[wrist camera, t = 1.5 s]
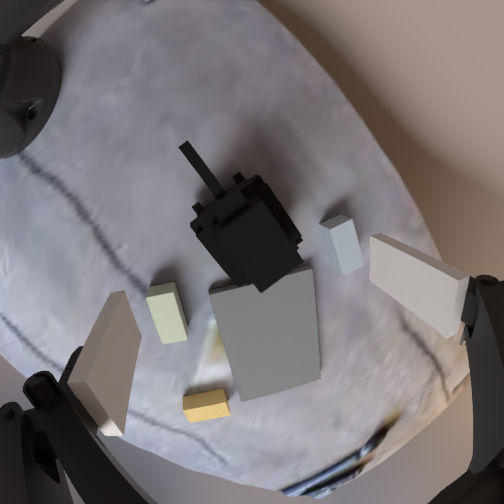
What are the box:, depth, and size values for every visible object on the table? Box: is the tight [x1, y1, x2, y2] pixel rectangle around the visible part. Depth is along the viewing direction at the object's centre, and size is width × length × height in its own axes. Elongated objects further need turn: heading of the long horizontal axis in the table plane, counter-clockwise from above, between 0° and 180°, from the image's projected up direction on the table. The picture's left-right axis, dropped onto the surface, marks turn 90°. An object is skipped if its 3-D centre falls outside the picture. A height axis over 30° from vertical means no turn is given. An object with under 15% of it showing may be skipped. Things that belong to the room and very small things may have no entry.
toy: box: [179, 141, 304, 293], centre depth 25 cm, size 8×14×10 cm, turn 35°
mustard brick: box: [183, 388, 231, 423], centre depth 36 cm, size 6×3×3 cm, turn 101°
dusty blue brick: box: [319, 214, 364, 276], centre depth 32 cm, size 6×3×3 cm, turn 22°
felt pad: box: [209, 265, 321, 402], centre depth 35 cm, size 18×12×1 cm, turn 10°
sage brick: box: [146, 282, 188, 344], centre depth 30 cm, size 6×3×3 cm, turn 9°
